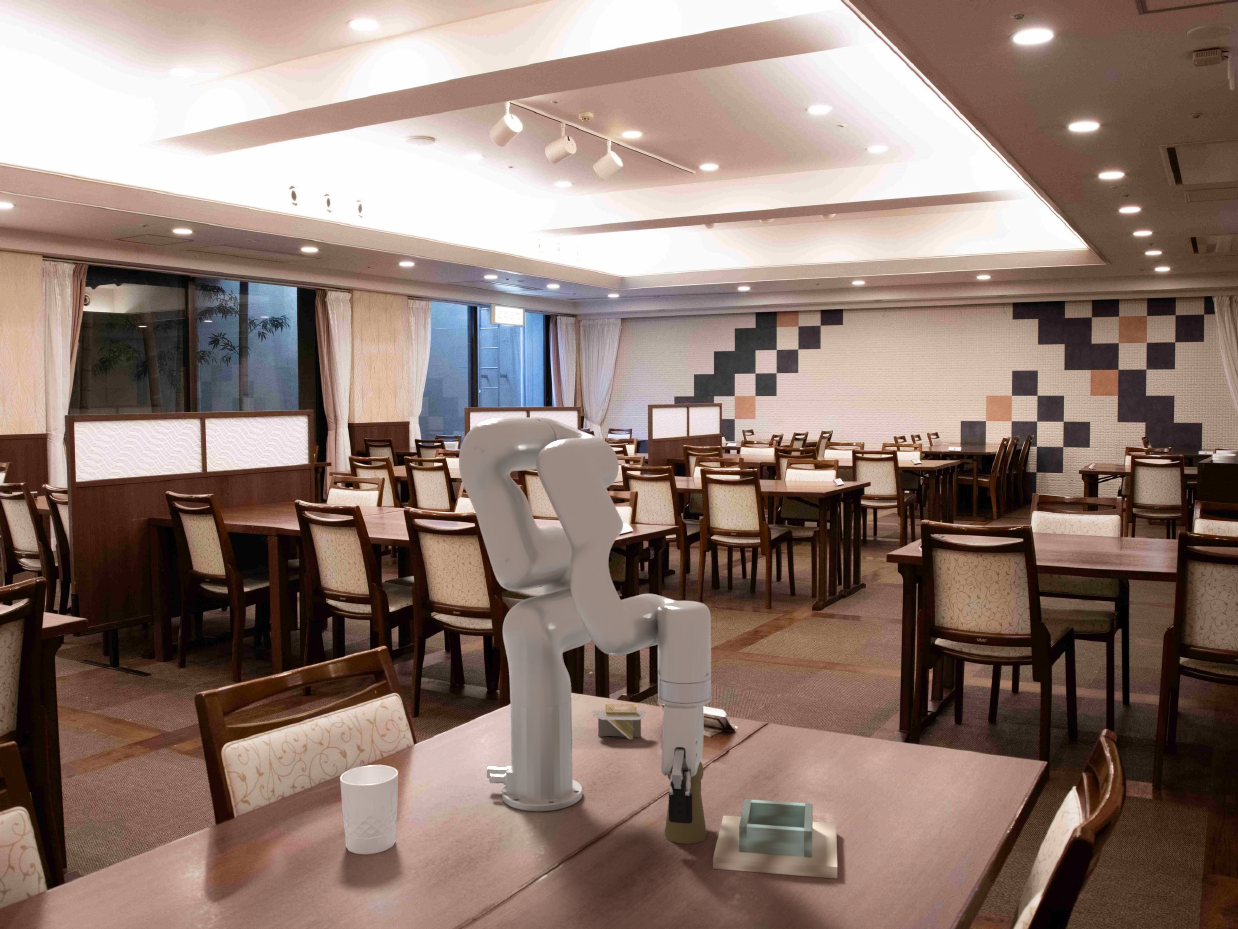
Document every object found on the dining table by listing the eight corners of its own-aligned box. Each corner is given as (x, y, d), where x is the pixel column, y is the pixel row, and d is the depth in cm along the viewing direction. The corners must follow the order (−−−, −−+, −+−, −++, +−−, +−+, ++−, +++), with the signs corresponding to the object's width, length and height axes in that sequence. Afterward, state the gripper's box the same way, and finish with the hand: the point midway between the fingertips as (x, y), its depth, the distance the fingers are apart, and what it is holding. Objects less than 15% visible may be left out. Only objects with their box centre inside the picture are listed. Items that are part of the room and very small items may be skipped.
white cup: (341, 860, 136) (340, 787, 136) (341, 836, 144) (340, 768, 143) (401, 852, 138) (399, 781, 138) (398, 830, 146) (396, 762, 145)
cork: (704, 845, 140) (703, 767, 139) (661, 842, 141) (660, 764, 140) (709, 827, 146) (708, 752, 145) (667, 824, 147) (667, 750, 146)
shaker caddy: (713, 868, 132) (712, 831, 132) (723, 825, 146) (723, 791, 146) (837, 878, 129) (837, 840, 129) (836, 833, 143) (836, 799, 143)
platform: (668, 751, 179) (668, 715, 179) (568, 751, 180) (567, 715, 180) (667, 730, 191) (667, 696, 191) (573, 730, 192) (573, 696, 192)
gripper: (667, 673, 151) (668, 784, 152) (647, 706, 134) (649, 831, 135) (717, 675, 150) (718, 787, 151) (703, 708, 133) (704, 835, 134)
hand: (685, 808), depth 143 cm, fingers open, 9 cm apart
